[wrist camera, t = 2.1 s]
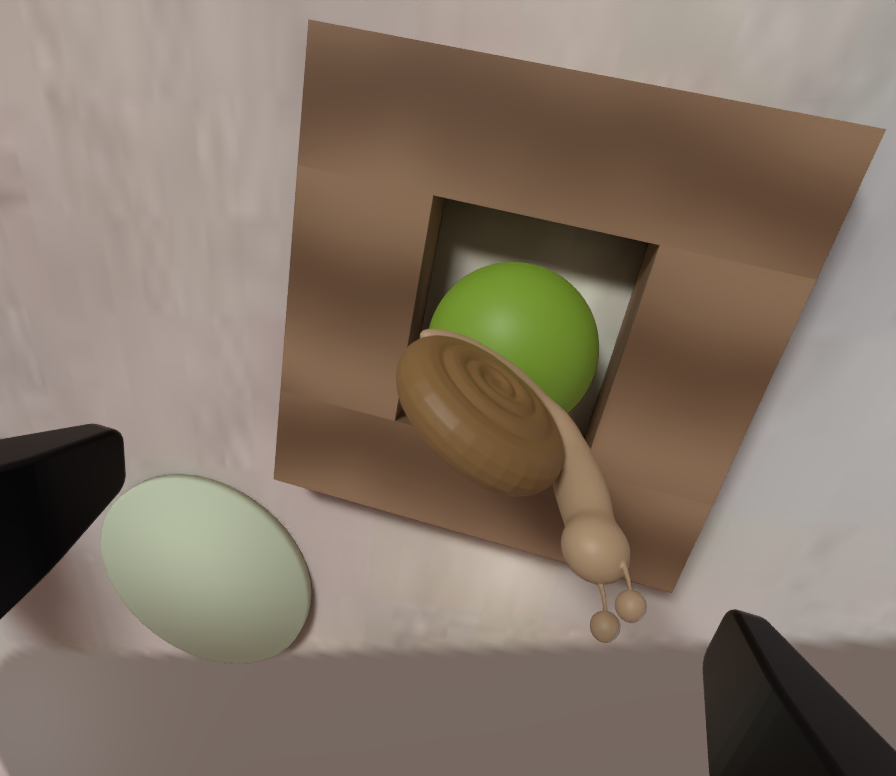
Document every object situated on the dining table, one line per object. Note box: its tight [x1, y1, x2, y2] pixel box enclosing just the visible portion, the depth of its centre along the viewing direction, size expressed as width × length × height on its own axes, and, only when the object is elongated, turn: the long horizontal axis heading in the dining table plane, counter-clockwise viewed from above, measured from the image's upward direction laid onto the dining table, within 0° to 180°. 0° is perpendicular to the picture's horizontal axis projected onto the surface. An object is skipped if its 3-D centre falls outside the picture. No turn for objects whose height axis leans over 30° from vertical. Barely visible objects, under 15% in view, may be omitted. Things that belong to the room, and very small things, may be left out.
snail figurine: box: [396, 262, 647, 643], centre depth 15 cm, size 5×6×12 cm
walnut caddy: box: [274, 20, 886, 593], centre depth 19 cm, size 16×16×2 cm
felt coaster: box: [101, 474, 312, 664], centre depth 28 cm, size 11×11×1 cm
